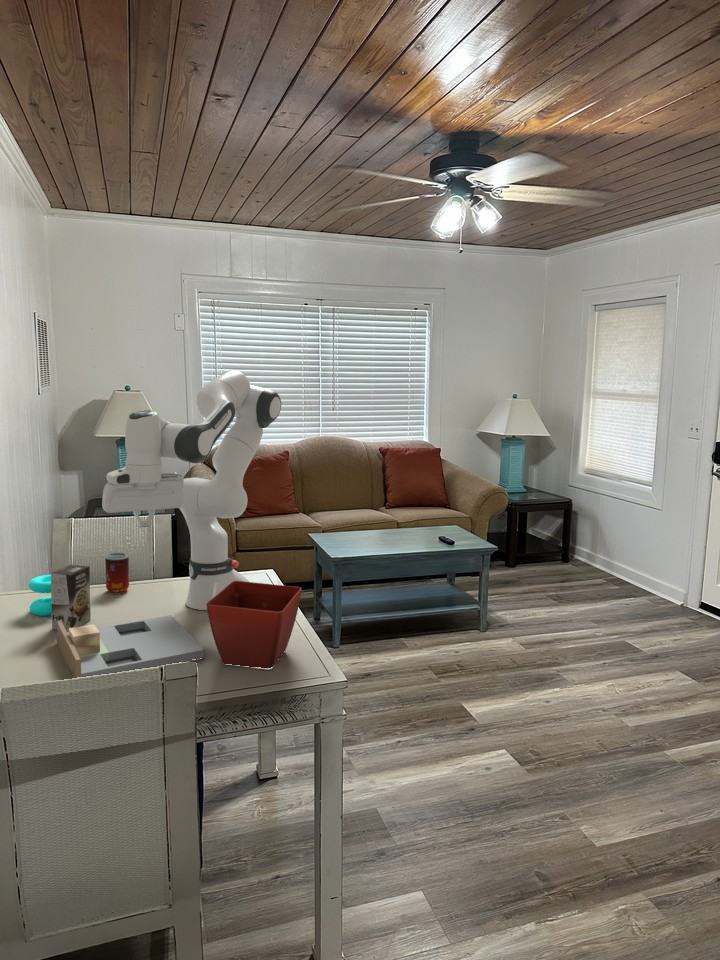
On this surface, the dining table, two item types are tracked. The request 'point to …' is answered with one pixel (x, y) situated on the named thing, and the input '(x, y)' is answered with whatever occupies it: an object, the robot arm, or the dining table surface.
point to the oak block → (85, 639)
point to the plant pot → (253, 622)
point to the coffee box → (70, 596)
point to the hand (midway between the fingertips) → (144, 526)
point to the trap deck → (131, 647)
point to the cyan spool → (43, 604)
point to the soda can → (117, 573)
